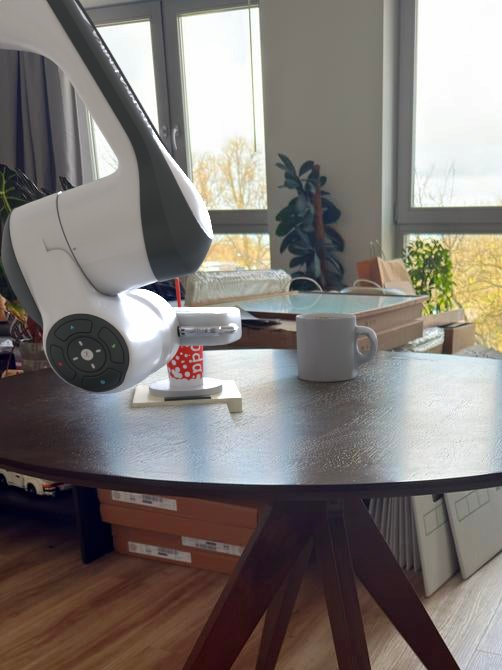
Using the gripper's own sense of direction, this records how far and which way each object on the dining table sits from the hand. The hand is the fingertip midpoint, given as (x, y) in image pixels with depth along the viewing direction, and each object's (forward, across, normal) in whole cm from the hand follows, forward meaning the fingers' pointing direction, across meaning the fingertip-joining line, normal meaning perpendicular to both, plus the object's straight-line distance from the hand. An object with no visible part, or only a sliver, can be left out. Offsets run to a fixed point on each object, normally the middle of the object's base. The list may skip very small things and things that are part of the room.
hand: (166, 318), depth 90 cm
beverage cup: (+7, 0, +10) cm, 12 cm away
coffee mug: (+29, -21, +13) cm, 38 cm away
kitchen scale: (+8, 0, +12) cm, 15 cm away
